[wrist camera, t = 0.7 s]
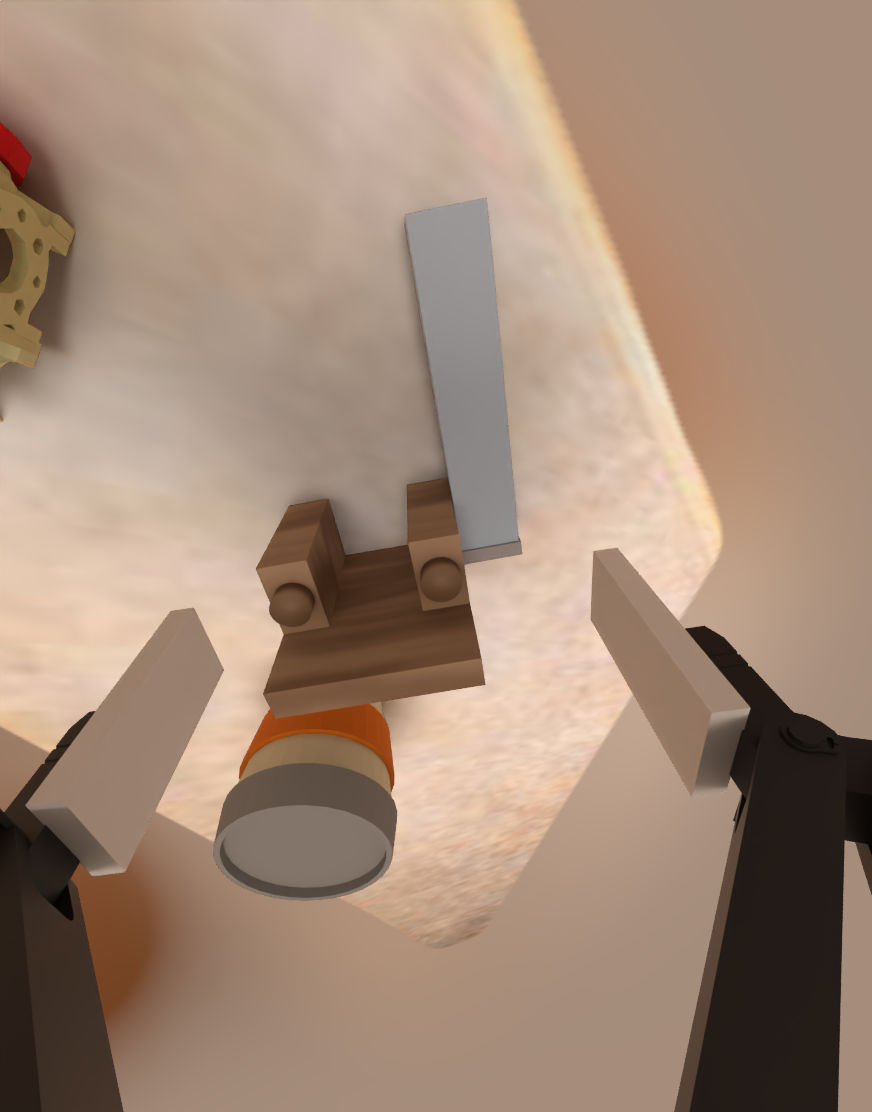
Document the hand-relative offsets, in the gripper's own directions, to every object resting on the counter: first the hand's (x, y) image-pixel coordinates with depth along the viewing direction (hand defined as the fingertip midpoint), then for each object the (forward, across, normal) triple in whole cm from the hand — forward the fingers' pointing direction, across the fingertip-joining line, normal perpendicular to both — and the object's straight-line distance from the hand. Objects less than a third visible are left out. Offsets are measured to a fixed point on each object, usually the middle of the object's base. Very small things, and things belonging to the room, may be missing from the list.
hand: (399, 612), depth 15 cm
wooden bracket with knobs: (+20, -3, -6) cm, 21 cm away
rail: (+20, +5, +3) cm, 21 cm away
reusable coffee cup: (+21, -11, -23) cm, 33 cm away
